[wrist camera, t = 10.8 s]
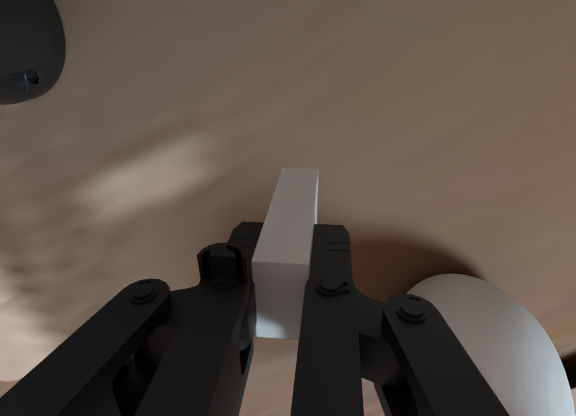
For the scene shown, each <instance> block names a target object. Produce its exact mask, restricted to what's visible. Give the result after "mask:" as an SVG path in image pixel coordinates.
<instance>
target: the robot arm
mask: <svg viewBox="0 0 576 416" xmlns="http://www.w3.org/2000/svg"><path fill="white" fill-rule="evenodd" d="M64 60H65V35H64V29H63V25H62V21H61V18H60V15H59V12H58V10H57V7H56V5H55V3H54V1H53V0H0V105H8V104H16V103H21V102H24V101H27V100H31V99H34V98H37V97H39V96H41V95H43V94H45V93H46V92H47V91H48V90H50V89H51V88H52V87H53V86H54V84H55V83H56V81H57V80H58V78H59V76H60V74H61V72H62V69H63V65H64ZM317 198H318V169H309V168H282V170H281V173H280V176H279V179H278V182H277V185H276V188H275V191H274V194H273V197H272V200H271V203H270V206H269V209H268V212H267V215H266V219H265V222H264V223H259V222H242V223H241V224H239V225H238V226H237V227H236V228H234V229H233V232H232V234H231V236H230V239H229V240H228V242H227V243H217V244H213V245H209V246H207V247H206V248H204V249H202V250H201V251H200V252H199V253H198V254H197V259H198V265H199V272H200V279H201V280H200V282H199V284H198V285H197V286H195V287H191V288H187V289H181V290H175V291H170V288H169V286H168V285H167V283H166V282H164V281H162V280H159V279H145V280H140V281H137V282H134V283H132V284H130V285H128V286H127V287H125V288H124V289H123V290H121V291H120V292H119V293H118V294H117V295H116V296H115V297H114V298H112V299H111V300H110V301H109V302H108V303H107V304H106V305H105V306H103V307H102V308H101V309H100V310H99V311H98V312H97V313H96V314H94V315H93V316H92V317H91V318H90V319H89V320H88V321H87V322H85V323H84V324H83V325H82V326H81V327H80V328H79V329H77V330H76V331H75V332H74V333H73V334H72V335H71V336H70V337H68V338H67V339H66V340H65V341H64V342H63V343H62V344H61V345H59V346H58V347H57V348H56V349H55V350H54V351H53V352H52V353H50V354H49V355H48V356H47V357H46V358H45V359H44V360H43V361H41V362H40V363H39V364H38V365H37V366H36V367H35V368H34V369H32V370H31V371H30V372H29V373H28V374H27V375H26V376H24V377H23V378H22V379H21V380H20V381H19V382H18V383H17V384H16V385H14V386H13V387H12V388H11V389H10V390H9V391H8V392H7V393H5V394H4V395H3V396H2V397H1V398H0V416H239V411H240V407H241V403H242V398H243V394H244V390H245V386H246V381H247V377H248V373H249V368H250V364H251V360H252V355H253V335H254V331H255V327H256V335H257V337H269V338H282V339H294V340H299V344H298V353H297V362H296V371H295V380H294V389H293V398H292V407H291V416H364V410H363V395H362V380H361V377H362V378H364V379H367V380H369V381H372V382H374V387H375V390H376V392H377V395H378V398H379V400H380V403H381V406H382V409H383V411H384V414H385V416H510V415H509V414H508V412H507V411H506V409H505V408H504V406H503V405H502V403H501V402H500V400H499V399H498V397H497V396H496V394H495V393H494V392H493V390H492V389H491V387H490V386H489V384H488V383H487V381H486V380H485V378H484V377H483V375H482V374H481V372H480V371H479V369H478V368H477V366H476V365H475V364H474V362H473V361H472V359H471V358H470V356H469V355H468V353H467V352H466V350H465V349H464V347H463V346H462V344H461V343H460V341H459V340H458V339H457V337H456V336H455V334H454V333H453V331H452V330H451V328H450V327H449V325H448V324H447V322H446V321H445V319H444V318H443V316H442V315H441V313H440V312H439V311H438V309H437V308H436V307H435V306H434V305H433V304H432V303H431V302H430V301H428V300H426V299H424V298H423V297H420V296H416V295H413V294H397V295H394V296H391V297H390V298H389V299H387V300H386V302H385V303H384V302H380V301H377V300H374V299H371V298H369V297H367V296H365V295H363V294H362V293H360V292H359V291H358V290H357V289H356V287H355V286H354V284H353V281H352V268H351V253H350V237H349V233H348V231H347V230H346V229H345V228H344V226H343V225H324V224H317Z"/></svg>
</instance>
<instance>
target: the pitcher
mask: <svg viewBox="0 0 576 416" xmlns="http://www.w3.org/2000/svg"><path fill="white" fill-rule="evenodd" d="M406 294H413V295H416V296H420V297H423V298H424V299H426V300H428V301H430V302H431V303H432V304H433V305H434V306H435V307H436V308H437V309H438V311H439V312H440V313H441V315H442V316H443V318H444V319H445V321H446V322H447V324H448V325H449V327H450V328H451V330H452V331H453V333H454V334H455V336H456V337H457V339H458V340H459V341H460V343H461V344H462V346H463V347H464V349H465V350H466V352H467V353H468V355H469V356H470V358H471V359H472V361H473V362H474V364H475V365H476V366H477V368H478V369H479V371H480V372H481V374H482V375H483V377H484V378H485V380H486V381H487V383H488V384H489V386H490V387H491V389H492V390H493V392H494V393H495V394H496V396H497V397H498V399H499V400H500V402H501V403H502V405H503V406H504V408H505V409H506V411H507V412H508V414H509V415H510V416H575V411H574V405H573V399H572V394H571V390H570V386H569V383H568V379H567V376H566V373H565V370H564V367H563V365H562V362H561V360H560V358H559V355H558V353H557V351H556V349H555V347H554V345H553V343H552V342H551V340H550V338H549V337H548V335H547V333H546V332H545V331H544V329H543V328H542V326H541V325H540V324H539V322H538V321H537V320H536V319H535V318H534V316H533V315H532V314H531V313H530V312H529V311H528V310H527V309H526V308H525V307H524V306H523V305H522V304H521V303H519V302H518V301H517V300H516V299H515V298H513V297H512V296H511V295H509V294H508V293H506V292H505V291H503V290H502V289H500V288H498V287H497V286H495V285H493V284H490V283H488V282H486V281H484V280H481V279H478V278H475V277H472V276H468V275H462V274H440V275H436V276H432V277H429V278H427V279H425V280H423V281H421V282H419V283H418V284H416V285H415V286H414V287H412V288H411V289H410V290H409V291H408V292H407V293H406Z"/></svg>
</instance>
